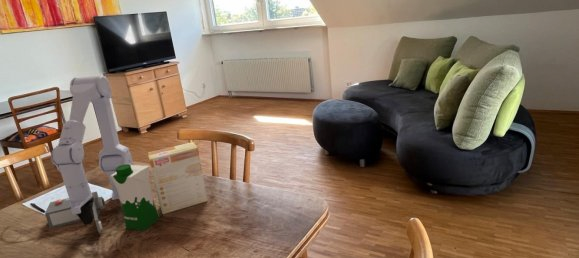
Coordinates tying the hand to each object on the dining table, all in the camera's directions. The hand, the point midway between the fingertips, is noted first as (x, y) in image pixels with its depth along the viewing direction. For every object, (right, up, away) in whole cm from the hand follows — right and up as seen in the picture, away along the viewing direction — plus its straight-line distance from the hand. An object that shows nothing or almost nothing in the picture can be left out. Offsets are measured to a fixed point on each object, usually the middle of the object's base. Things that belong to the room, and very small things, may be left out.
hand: (88, 223), depth 111 cm
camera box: (-9, 0, +10) cm, 13 cm away
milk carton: (+16, -1, +2) cm, 16 cm away
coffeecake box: (+26, +4, +12) cm, 28 cm away
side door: (+2, -1, +3) cm, 3 cm away
